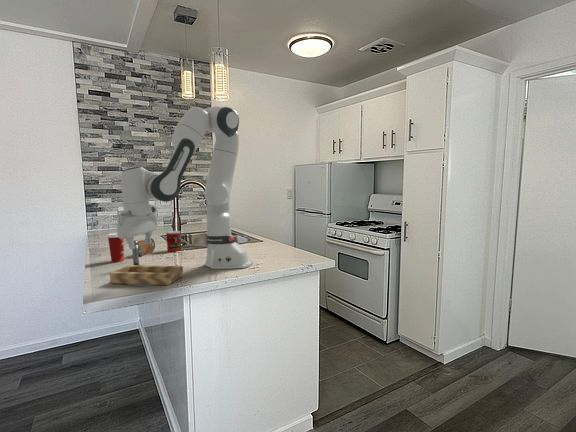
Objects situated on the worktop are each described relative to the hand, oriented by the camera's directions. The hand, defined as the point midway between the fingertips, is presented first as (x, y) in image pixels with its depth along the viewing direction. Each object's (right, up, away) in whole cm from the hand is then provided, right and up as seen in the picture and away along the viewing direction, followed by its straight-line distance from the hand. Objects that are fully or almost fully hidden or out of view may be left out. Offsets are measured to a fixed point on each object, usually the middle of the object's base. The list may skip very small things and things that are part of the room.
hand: (140, 246), depth 124 cm
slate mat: (+1, -14, +6) cm, 15 cm away
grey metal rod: (-14, -12, +26) cm, 32 cm away
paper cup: (-30, -11, +40) cm, 51 cm away
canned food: (-9, -9, +63) cm, 64 cm away
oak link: (0, -14, +6) cm, 15 cm away
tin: (-22, -10, +55) cm, 60 cm away
